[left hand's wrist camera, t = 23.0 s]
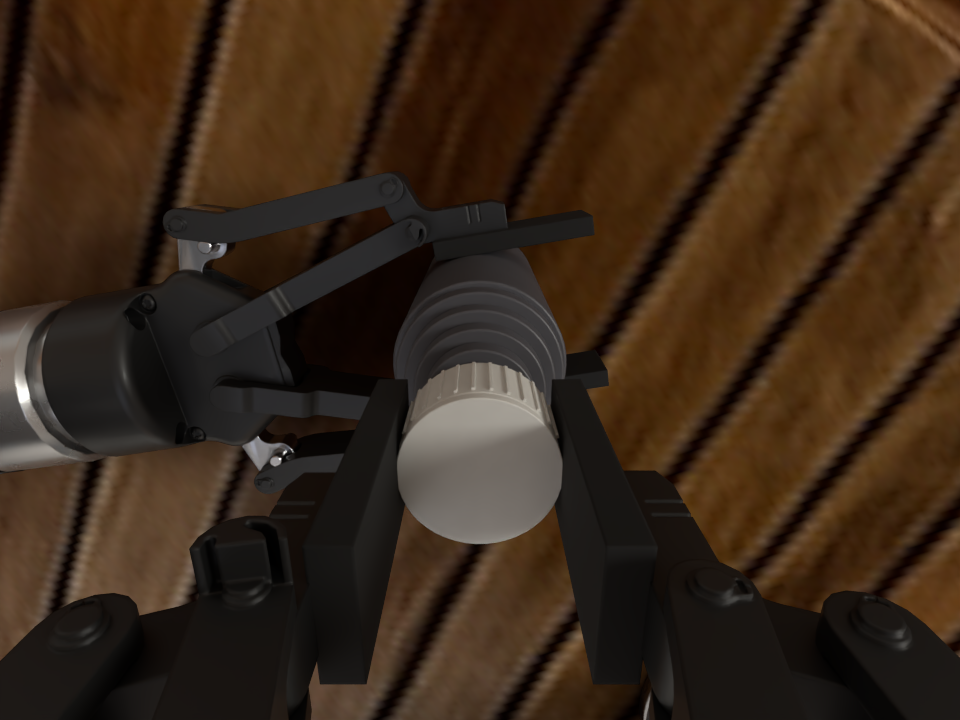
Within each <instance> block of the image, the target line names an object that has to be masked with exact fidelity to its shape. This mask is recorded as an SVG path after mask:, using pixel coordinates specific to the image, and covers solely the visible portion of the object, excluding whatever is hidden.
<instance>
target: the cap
mask: <svg viewBox="0 0 960 720" xmlns="http://www.w3.org/2000/svg"><path fill="white" fill-rule="evenodd" d="M557 438H559V434H558V431H557V427H556V423H555V420H554V416H553V413H552V409H551V406H550V405H547V403H546V399H545V396H544V393H543V392H540V391H539V390H538V389H537V387H536V386H535V383H534V382H533V381H529V380H528V379H527V378H526V377H524V376H523V375H522V373H521V372H519V373H518V372H516V371H514V370H512V369H509V368H508V366H500V365H496V364H492V362H488V363H476V362H472V363H470V364H463V365H459V364H458V365H456V367H453V368H450V369H448V370H442V371H441V373H440V374H438V375H437V376H435V377H434V378H433V379H431V378H430V379H429V380H428V383H427V384H426V385H425V386H424V387H423V388H422V389H419V390H418V392H417V396H416V398H415V400H414V402H413V401H411V403H410V406H409V410H408V413H407V417H406V420H405V424H404V427H403V431H402V438H401V442H400V445H399V452H398V456H397V472H398V488H399V492H400V494H401V497H402V499H403V501H404V503H405V504H406V506H407V508H408V509H409V510H410V512H411V513H412V514H413V515H414V516H415V518H416V519H417V520H418V521H419V522H421V523H422V524H423V525H424V526H426V527H427V528H428V529H430V530H432V531H433V532H435V533H437V534H439V535H441V536H443V537H446V538H449V539H452V540H455V541H459V542H464V543H473V544H487V543H496V542H500V541H505V540H508V539H511V538H514V537H516V536H518V535H520V534H523V533H525V532H526V531H528V530H529V529H531V528H533V527H534V526H535V525H536V524H538V523H539V522H540V521H541V520H542V519H543V518H544V517H545V516H546V515H547V514H548V512H549V511H550V510H551V508H552V507H553V505H554V504H555V502H556V500H557V498H558V496H559V493H560V490H561V483H562V465H563V458H562V454H561V451H560V447H559V443H558V440H557Z"/></svg>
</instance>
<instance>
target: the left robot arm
mask: <svg viewBox="0 0 960 720" xmlns="http://www.w3.org/2000/svg"><path fill="white" fill-rule="evenodd" d="M551 409H552V413H553V416H554V420H555V423H556V427H557V431H558V434H559V438H557V440H558V443H559V447H560V451H561V454H562V458H563V465H562V483H561V490H560V493H559V496H558V498H557V500H556V502H555V509H556V513H557V518H558V523H559V527H560V532H561V536H562V541H563V546H564V550H565V555H566V560H567V564H568V569H569V574H570V578H571V583H572V588H573V592H574V597H575V602H576V606H577V611H578V616H579V620H580V625H581V630H582V634H583V639H584V644H585V648H586V653H587V658H588V662H589V667H590V671H591V676H592V681H593V684H640V677H641V670H642V662H643V661H644V664H645V667H646V670H647V673H648V677H647V679H646V681H645V683H644V686H643V689H642V692H641V696H640V702H639V713H640V719H641V720H960V658H959V657H958V656H957V655H956V654H955V653H954V652H953V651H952V650H951V649H950V648H949V647H948V646H947V645H946V644H945V643H944V642H943V641H942V640H941V639H940V638H939V637H938V636H937V635H936V634H935V633H934V632H933V631H932V630H931V629H930V628H929V627H928V626H927V625H926V624H925V623H923V622H922V621H921V620H919V619H918V618H917V617H916V616H914V615H913V614H912V613H911V612H909V611H908V610H906V609H904V608H902V607H901V606H899V605H897V604H895V603H893V602H891V601H889V600H887V599H884V598H881V597H878V596H875V595H872V594H868V593H865V592H855V591H842V592H838V593H833V594H831V595H830V596H829V597H828V598H827V599H826V600H825V601H824V603H823V607H822V610H821V613H817V612H813V611H808V610H804V609H800V608H795V607H791V606H787V605H782V604H779V603H776V602H772V601H769V600H766V599H764V598H762V597H761V594H760V593H759V591H758V590H757V588H756V587H755V585H754V584H753V582H752V581H750V580H749V579H748V578H747V577H745V576H744V575H743V574H742V573H741V572H739V571H738V570H735V569H733V568H731V567H729V566H727V565H725V564H723V563H720V562H719V561H718V559H717V557H716V556H715V554H714V552H713V551H712V549H711V547H710V546H709V544H708V542H707V541H706V539H705V537H704V536H703V534H702V532H701V530H700V529H699V527H698V525H697V524H696V522H695V520H694V519H693V517H691V515H690V512H689V510H688V508H687V507H686V505H685V503H683V500H682V498H681V497H680V495H679V493H678V492H677V490H676V488H675V486H674V485H673V484H672V483H671V482H669V481H668V480H667V479H666V478H664V477H663V476H662V475H660V474H659V473H658V472H656V471H623V469H622V467H621V465H620V463H619V461H618V458H617V456H616V454H615V452H614V450H613V448H612V445H611V443H610V441H609V439H608V437H607V434H606V432H605V430H604V428H603V426H602V423H601V421H600V419H599V417H598V415H597V413H596V410H595V408H594V406H593V404H592V402H591V399H590V397H589V395H588V393H587V391H586V388H585V386H584V384H583V382H582V380H581V379H552V388H551ZM408 410H409V395H408V379H378V381H377V383H376V385H375V388H374V390H373V392H372V394H371V396H370V399H369V401H368V403H367V405H366V407H365V410H364V412H363V414H362V416H361V418H360V420H359V423H358V425H357V427H356V429H355V431H354V434H353V436H352V438H351V440H350V442H349V445H348V447H347V449H346V451H345V453H344V455H343V458H342V460H341V462H340V464H339V466H338V469H337V471H336V472H304V473H303V474H302V475H301V476H299V477H298V478H297V479H295V480H294V481H293V482H291V483H290V484H289V485H287V486H286V488H285V490H284V491H283V493H282V495H281V497H280V498H279V500H278V502H277V505H275V507H274V508H273V510H272V512H271V514H270V515H269V517H267V516H245V517H240V518H235V519H231V520H228V521H226V522H223V523H221V524H218V525H216V526H214V527H212V528H210V529H209V530H208V531H206V532H205V533H203V534H202V535H201V536H199V537H198V538H197V539H196V541H195V542H194V543H193V545H192V546H191V547H190V549H189V550H190V555H191V559H192V564H193V568H194V573H195V578H196V582H197V587H198V591H199V598H198V600H197V601H195V602H192V603H189V604H185V605H182V606H179V607H174V608H170V609H166V610H162V611H157V612H153V613H149V614H145V615H140V616H139V612H138V608H137V605H136V603H135V602H134V601H133V600H132V599H131V598H130V597H129V596H125V595H121V594H116V593H109V594H99V595H93V596H90V597H87V598H84V599H81V600H77V601H74V602H72V603H70V604H68V605H66V606H65V607H63V608H61V609H59V610H57V611H55V612H53V613H52V614H50V615H49V616H48V617H47V618H45V619H44V620H43V621H42V622H40V623H39V624H38V625H37V626H35V627H34V628H33V629H32V630H31V631H30V632H29V633H28V634H27V635H26V636H25V637H24V638H23V639H22V640H21V641H20V642H19V643H18V644H17V645H16V646H15V647H14V648H13V649H12V650H11V651H10V652H9V653H8V654H7V655H6V656H5V657H4V658H3V659H2V660H1V661H0V720H311V712H312V709H311V702H310V694H309V684H310V681H311V678H312V674H313V671H314V668H315V665H316V662H317V665H318V673H319V680H320V684H367V679H368V674H369V670H370V665H371V660H372V656H373V651H374V647H375V642H376V637H377V633H378V628H379V623H380V619H381V614H382V609H383V605H384V600H385V595H386V591H387V586H388V581H389V577H390V572H391V567H392V563H393V558H394V553H395V549H396V544H397V540H398V535H399V530H400V526H401V521H402V516H403V512H404V507H405V503H404V501H403V499H402V497H401V494H400V492H399V488H398V472H397V456H398V452H399V445H400V442H401V438H402V431H403V427H404V424H405V420H406V417H407V413H408Z"/></svg>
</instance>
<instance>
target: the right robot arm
mask: <svg viewBox="0 0 960 720" xmlns="http://www.w3.org/2000/svg"><path fill="white" fill-rule="evenodd" d="M383 206H384V207H385V209H386V211H387V212H388V214H389V216H390V217H391V219H392V221H393V222H394V223H392V224H391V225H389V226H387V227H385V228H383V229H381V230H379V231H377V232H376V233H374V234H372V235H370V236H368V237H366V238H364V239H362V240H361V241H359V242H357V243H355V244H353V245H351V246H349V247H347V248H346V249H344V250H342V251H340V252H338V253H336V254H334V255H332V256H331V257H329V258H327V259H325V260H323V261H321V262H319V263H317V264H316V265H314V266H312V267H310V268H308V269H306V270H304V271H302V272H301V273H299V274H297V275H295V276H293V277H291V278H289V279H287V280H285V281H283V282H281V283H279V284H277V285H276V286H274V287H272V288H270V289H268V290H266V291H264V292H263V291H260V290H258V289H256V288H254V287H252V286H249V285H247V284H245V283H243V282H241V281H239V280H236V279H234V278H232V277H230V276H228V275H225V274H223V273H221V272H219V271H217V270H215V269H212V264H213V262H214V260H215V259H217V258H220V257H223V256H226V255H228V254H230V253H232V252H233V251H234V249H235V244H236V242H239V241H244V240H248V239H252V238H256V237H260V236H264V235H268V234H272V233H276V232H280V231H284V230H289V229H293V228H297V227H301V226H305V225H309V224H313V223H317V222H321V221H325V220H329V219H334V218H338V217H342V216H346V215H350V214H354V213H358V212H362V211H366V210H370V209H374V208H378V207H383ZM163 225H164V229H165V230H166V231H167V233H168V234H169V235H171V236H172V237H173V238H176V239H177V241H178V256H179V271H177V272H175V273H173V274H171V275H170V276H169V277H168V278H167V279H166V280H165V281H164V282H162V283H160V284H155V285H149V286H144V287H138V288H132V289H126V290H120V291H114V292H108V293H103V294H97V295H91V296H85V297H81V298H78V299H76V300H74V301H65V300H61V301H55V302H50V303H44V304H38V305H33V306H27V307H22V308H16V309H10V310H5V311H0V474H2V473H9V472H16V471H23V470H26V469H34V468H41V467H49V466H57V465H65V464H72V463H80V462H88V461H95V460H98V459H102V458H105V457H108V456H123V455H130V454H136V453H143V452H150V451H156V450H163V449H169V448H176V447H182V446H187V445H191V444H195V443H199V442H203V441H217V442H221V443H225V444H228V445H232V446H242V447H243V449H244V450H245V451H246V453H247V454H248V456H249V457H250V458H251V460H252V461H253V463H254V464H255V465H256V467H257V468H258V470H259V473H258V474H257V476H256V477H255V479H254V484H255V486H256V488H257V489H258V490H259V491H260V492H262V493H265V494H271V493H275V492H277V491H279V490H281V489H284V488H286V486H287V485H289V484H290V483H291V482H293V481H294V480H295V479H297V478H298V477H299V476H301V475H302V474H303V473H304V472H336V471H337V469H338V466H339V464H340V462H341V460H342V458H343V455H344V453H345V451H346V449H347V447H348V445H349V442H350V440H351V438H352V436H353V434H354V431H355V430H348V431H337V432H326V433H318V434H312V435H308V436H304V437H302V438H299V439H297V436H296V435H295V434H293V433H288V434H282V435H274V434H271V433H269V432H268V431H267V430H266V429H265V428H266V427H267V426H268V425H269V424H270V423H271V422H272V421H273V419H274V418H275V417H276V416H277V415H282V416H290V417H298V418H306V417H310V416H313V415H325V416H333V417H341V418H349V419H357V420H360V418H361V416H362V414H363V412H364V410H365V407H366V405H367V403H368V401H369V399H370V396H371V394H372V392H373V390H374V388H375V385H376V383H377V381H378V379H390V378H382V377H374V376H366V375H358V374H350V373H343V372H335V371H331V370H329V369H328V368H327V367H325V366H319V365H311V364H306V362H305V358H304V355H303V353H302V352H301V350H300V348H299V347H298V345H297V343H296V342H295V327H294V321H293V317H292V314H291V313H292V312H294V311H295V310H297V309H299V308H301V307H303V306H305V305H307V304H309V303H311V302H312V301H314V300H316V299H318V298H320V297H322V296H324V295H326V294H328V293H330V292H332V291H334V290H335V289H337V288H339V287H341V286H343V285H345V284H347V283H349V282H351V281H353V280H355V279H357V278H358V277H360V276H362V275H364V274H366V273H368V272H370V271H372V270H374V269H376V268H378V267H380V266H381V265H383V264H385V263H387V262H389V261H391V260H393V259H395V258H397V257H399V256H401V255H403V254H404V253H406V252H408V251H410V250H412V249H414V248H416V247H420V246H422V245H423V244H424V243H430V242H433V243H432V244H433V250H434V255H435V260H436V261H442V260H447V259H453V258H459V257H465V256H471V255H477V254H483V253H489V252H495V251H501V250H507V249H513V248H519V247H525V246H531V245H537V244H543V243H549V242H554V241H560V240H566V239H572V238H578V237H584V236H590V235H594V225H593V216H592V215H590V214H588V213H586V212H584V211H582V210H578V211H572V212H566V213H560V214H554V215H548V216H542V217H537V218H531V219H525V220H519V221H513V222H507V218H506V212H505V205H504V203H503V202H501V201H497V200H492V199H489V200H483V201H478V202H472V203H466V204H460V205H454V206H449V207H443V208H435V209H433V208H429V207H427V206H425V205H423V204H422V203H421V202H420V200H419V199H418V197H417V196H416V194H415V192H414V190H413V189H412V187H411V185H410V182H409V180H408V177H407V176H405V175H404V174H403V173H401V172H388V173H382V174H378V175H374V176H370V177H366V178H362V179H358V180H354V181H350V182H346V183H342V184H338V185H334V186H330V187H326V188H322V189H318V190H314V191H310V192H306V193H302V194H298V195H294V196H290V197H286V198H282V199H278V200H274V201H270V202H266V203H262V204H258V205H254V206H250V207H246V208H242V209H239V208H231V207H223V206H215V205H207V204H202V205H195V206H188V207H182V208H177V209H171V210H169V211H168V212H166V214H165V215H164V217H163ZM564 379H581V380H582V382H583V384H584V386H585V388H586V389H590V388H597V387H603V386H609V382H608V372H607V369H606V367H605V365H604V364H603V362H602V360H601V359H600V357H599V355H598V354H597V352H596V350H592V351H586V352H580V353H573V354H567V355H566V373H565V378H564Z"/></svg>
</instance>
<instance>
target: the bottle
mask: <svg viewBox="0 0 960 720" xmlns="http://www.w3.org/2000/svg"><path fill="white" fill-rule="evenodd" d="M472 362H476V363H488V362H492V364H496V365H500V366H508V368H509V369H512V370H514V371H516V372H518V373H519V372H521V373H522V375H523V376H524V377H526V378H527V379H528V380H529V381H533V382H534V383H535V386H536V387H537V389H538V390H539V391H540V392H543V393H544V396H545V399H546V403H547V405H550V406H551V388H552V379H564V378H565V373H566V350H565V344H564V341H563V337H562V334H561V332H560V330H559V327H558V325H557V323H556V321H555V319H554V317H553V315H552V312H551V310H550V308H549V306H548V304H547V302H546V299H545V297H544V295H543V293H542V291H541V289H540V286H539V284H538V282H537V280H536V278H535V276H534V274H533V271H532V269H531V267H530V265H529V263H528V261H527V259H526V257H525V256H524V254H523V253H522V252H521V250H520V249H519V248H513V249H507V250H501V251H495V252H489V253H483V254H477V255H471V256H465V257H459V258H453V259H447V260H442V261H436V260H435V257H434V258H433V260H432V262H431V264H430V266H429V269H428V271H427V273H426V275H425V277H424V279H423V282H422V284H421V286H420V288H419V290H418V292H417V294H416V297H415V299H414V301H413V303H412V305H411V307H410V309H409V312H408V314H407V316H406V318H405V320H404V322H403V325H402V327H401V329H400V331H399V333H398V336H397V339H396V343H395V347H394V354H393V368H394V376H395V379H408V395H409V406H410V403H411V401H413V402H414V400H415V398H416V396H417V392H418V390H419V389H422V388H423V387H424V386H425V385H426V384H427V383H428V380H429V379H430V378H431V379H433V378H434V377H435V376H437V375H438V374H440V373H441V371H442V370H448V369H450V368H453V367H456V365H458V364H459V365H463V364H470V363H472Z"/></svg>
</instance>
